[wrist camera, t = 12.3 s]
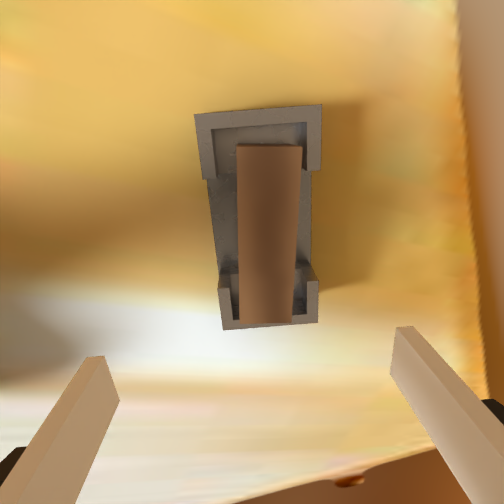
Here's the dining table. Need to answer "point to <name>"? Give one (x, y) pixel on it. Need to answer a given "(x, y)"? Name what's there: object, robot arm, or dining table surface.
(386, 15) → the dining table surface
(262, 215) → the brown wooden block
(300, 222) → the bracket
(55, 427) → the robot arm
